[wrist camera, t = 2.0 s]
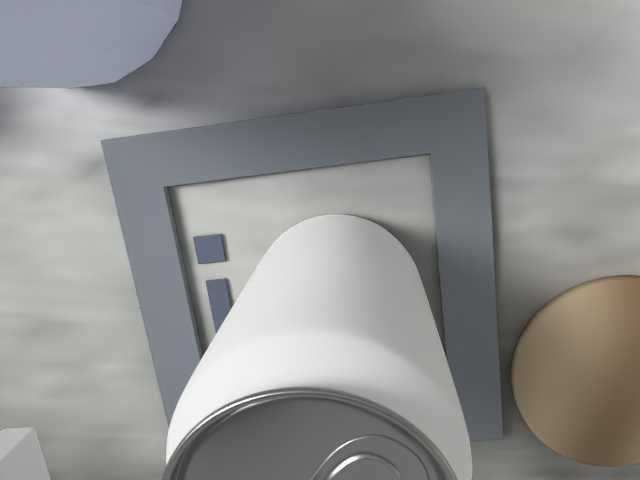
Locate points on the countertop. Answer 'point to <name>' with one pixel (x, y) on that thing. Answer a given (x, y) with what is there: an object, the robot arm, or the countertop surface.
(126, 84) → the countertop surface
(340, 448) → the can
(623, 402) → the coaster
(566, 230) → the countertop surface
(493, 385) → the frame
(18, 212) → the countertop surface
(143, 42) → the soap bottle
